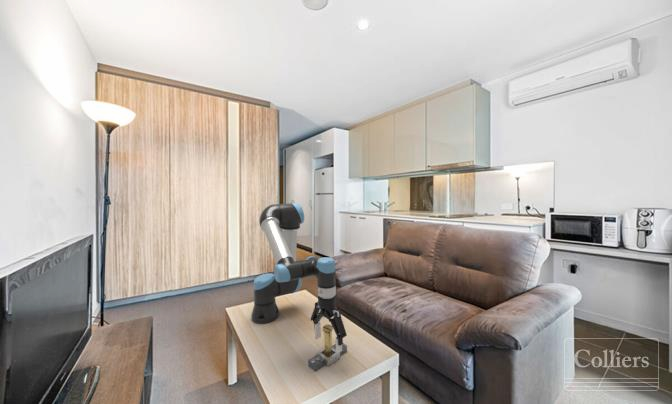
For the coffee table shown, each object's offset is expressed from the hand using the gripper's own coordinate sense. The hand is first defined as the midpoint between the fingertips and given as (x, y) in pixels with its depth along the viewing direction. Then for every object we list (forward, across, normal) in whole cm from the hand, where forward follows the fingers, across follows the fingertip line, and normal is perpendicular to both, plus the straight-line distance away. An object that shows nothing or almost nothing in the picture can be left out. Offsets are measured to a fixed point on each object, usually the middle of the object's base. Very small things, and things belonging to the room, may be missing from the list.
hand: (328, 344), depth 108 cm
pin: (+6, 0, 0) cm, 6 cm away
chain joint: (+6, 0, 0) cm, 6 cm away
